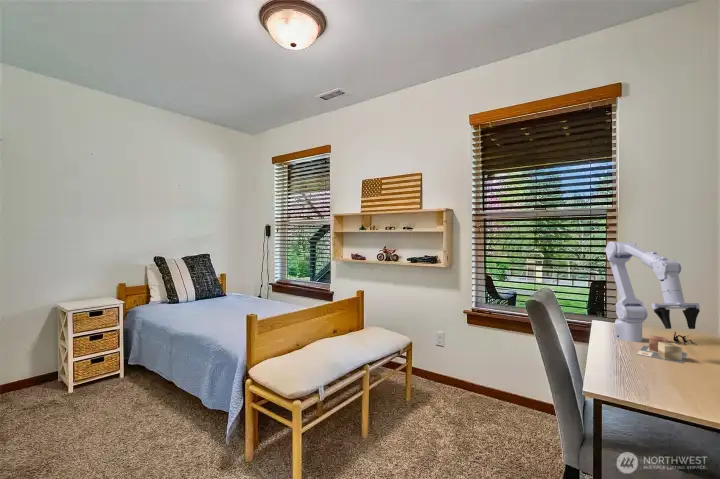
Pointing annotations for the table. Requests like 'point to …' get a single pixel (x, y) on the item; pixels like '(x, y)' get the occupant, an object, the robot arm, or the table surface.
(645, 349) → the build board
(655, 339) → the rust block
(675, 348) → the maple block
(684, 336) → the creature
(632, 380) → the table surface
